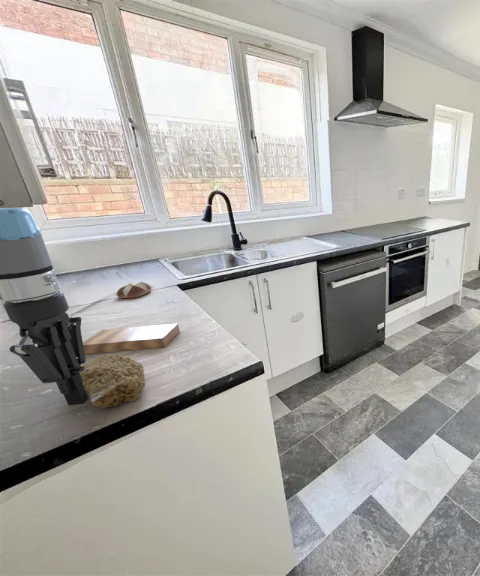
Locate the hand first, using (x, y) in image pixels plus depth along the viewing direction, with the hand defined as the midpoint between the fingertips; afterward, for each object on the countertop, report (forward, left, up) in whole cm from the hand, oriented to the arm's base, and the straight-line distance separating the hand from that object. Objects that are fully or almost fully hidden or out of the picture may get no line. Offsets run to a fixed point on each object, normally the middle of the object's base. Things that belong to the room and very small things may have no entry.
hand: (78, 402), depth 64 cm
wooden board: (-9, +34, -4) cm, 35 cm away
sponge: (0, +9, -4) cm, 10 cm away
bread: (-34, +82, -4) cm, 89 cm away
